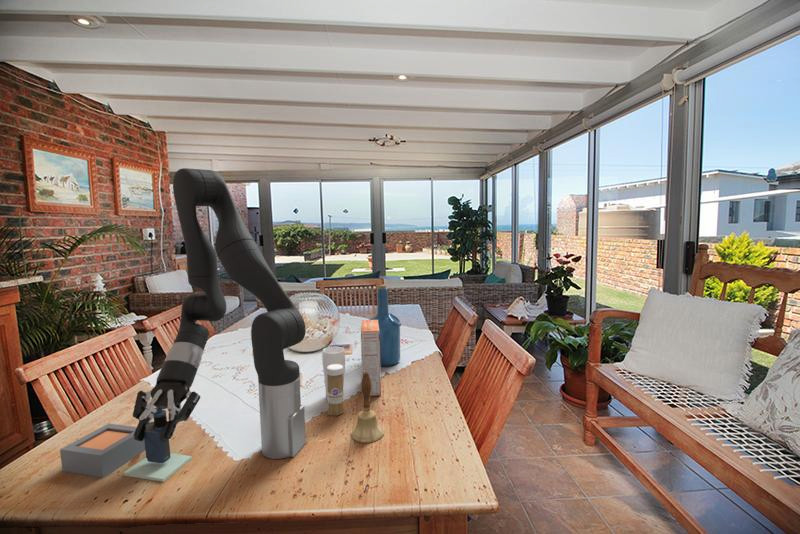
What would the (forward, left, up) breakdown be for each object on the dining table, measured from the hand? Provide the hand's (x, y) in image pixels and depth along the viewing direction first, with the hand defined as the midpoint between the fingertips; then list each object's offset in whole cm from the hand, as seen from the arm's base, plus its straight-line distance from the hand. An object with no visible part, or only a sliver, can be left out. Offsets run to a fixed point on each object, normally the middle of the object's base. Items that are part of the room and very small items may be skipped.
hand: (151, 440), depth 81 cm
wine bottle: (-32, -75, -7) cm, 81 cm away
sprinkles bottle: (-29, -33, -7) cm, 44 cm away
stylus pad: (0, -2, -7) cm, 7 cm away
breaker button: (+14, -2, -6) cm, 15 cm away
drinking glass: (-25, -42, -7) cm, 49 cm away
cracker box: (-34, -51, -7) cm, 61 cm away
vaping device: (+1, -2, -6) cm, 6 cm away
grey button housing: (+14, -2, -7) cm, 16 cm away
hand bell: (-41, -24, -7) cm, 48 cm away
